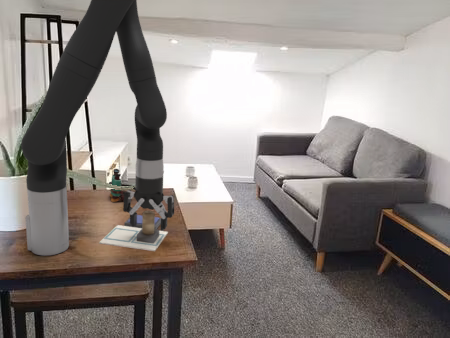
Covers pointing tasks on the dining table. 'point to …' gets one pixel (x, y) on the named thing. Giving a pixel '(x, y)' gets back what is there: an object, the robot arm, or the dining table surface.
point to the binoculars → (117, 181)
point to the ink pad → (139, 222)
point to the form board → (130, 238)
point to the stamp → (148, 228)
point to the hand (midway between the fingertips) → (148, 227)
